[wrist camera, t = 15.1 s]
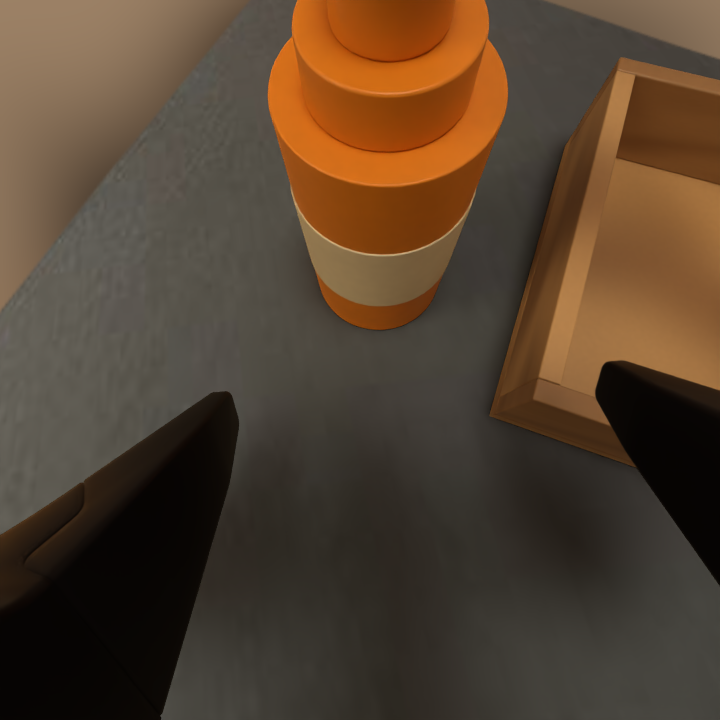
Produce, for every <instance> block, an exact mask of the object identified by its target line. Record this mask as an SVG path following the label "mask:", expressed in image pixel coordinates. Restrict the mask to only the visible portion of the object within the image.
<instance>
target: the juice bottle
mask: <svg viewBox="0 0 720 720" xmlns="http://www.w3.org/2000/svg"><path fill="white" fill-rule="evenodd" d="M488 32H489V16H488V9H487V6H486V3H485V0H298V1H297V3H296V6H295V9H294V13H293V18H292V35H293V36H292V37H291V38H290V39H289V41H288V42H287V43H286V44H285V46H284V47H283V48H282V50H281V52H280V53H279V55H278V57H277V59H276V61H275V63H274V66H273V68H272V71H271V75H270V79H269V84H268V104H269V111H270V114H271V118H272V121H273V125H274V128H275V132H276V135H277V139H278V142H279V146H280V149H281V153H282V156H283V160H284V163H285V167H286V170H287V174H288V177H289V180H290V186H291V193H292V196H293V200H294V203H295V207H296V210H297V214H298V217H299V220H300V224H301V227H302V231H303V234H304V237H305V241H306V244H307V248H308V251H309V254H310V258H311V261H312V264H313V266H314V268H315V271H316V274H317V278H318V281H319V285H320V288H321V292H322V294H323V296H324V299H325V300H326V302H327V304H328V305H329V306H330V308H331V309H332V310H333V311H334V312H335V313H336V314H337V315H338V316H339V317H341V318H342V319H344V320H345V321H347V322H349V323H351V324H353V325H355V326H358V327H361V328H366V329H373V330H385V329H392V328H396V327H399V326H402V325H404V324H407V323H409V322H410V321H412V320H414V319H415V318H417V317H418V316H419V315H421V314H422V313H423V312H424V311H425V309H426V308H427V307H428V306H429V304H430V303H431V301H432V299H433V298H434V296H435V293H436V290H437V288H438V285H439V283H440V280H441V278H442V275H443V273H444V271H445V269H446V268H447V266H448V263H449V261H450V258H451V255H452V253H453V250H454V248H455V245H456V243H457V240H458V238H459V235H460V233H461V230H462V228H463V225H464V223H465V220H466V218H467V215H468V212H469V210H470V207H471V205H472V202H473V199H474V197H475V192H476V188H477V185H478V182H479V180H480V177H481V175H482V172H483V170H484V167H485V164H486V162H487V159H488V157H489V154H490V152H491V149H492V146H493V144H494V141H495V139H496V136H497V134H498V131H499V128H500V126H501V123H502V121H503V118H504V115H505V112H506V107H507V101H508V84H507V78H506V72H505V69H504V66H503V63H502V61H501V59H500V57H499V55H498V53H497V51H496V49H495V48H494V47H493V45H492V44H491V42H490V41H489V40H488V39H487V37H488Z"/></svg>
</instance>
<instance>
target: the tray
mask: <svg viewBox="0 0 720 720" xmlns="http://www.w3.org/2000/svg"><path fill="white" fill-rule="evenodd" d="M618 360H625V361H628V362H632V363H635V364H638V365H641V366H644V367H647V368H651V369H654V370H657V371H660V372H663V373H666V374H670V375H673V376H676V377H679V378H682V379H685V380H689V381H692V382H695V383H698V384H701V385H704V386H708V387H711V388H714V389H717V390H720V80H716V79H712V78H707V77H703V76H699V75H694V74H690V73H686V72H682V71H677V70H673V69H669V68H665V67H660V66H656V65H652V64H648V63H643V62H639V61H635V60H631V59H626V58H620V59H619V60H618V62H617V63H616V65H615V67H614V68H613V70H612V71H611V73H610V75H609V76H608V78H607V80H606V81H605V83H604V84H603V86H602V88H601V89H600V91H599V92H598V94H597V96H596V97H595V99H594V100H593V102H592V104H591V105H590V107H589V109H588V110H587V112H586V113H585V115H584V117H583V118H582V120H581V121H580V123H579V125H578V126H577V128H576V130H575V131H574V133H573V135H572V136H571V137H570V139H569V141H568V142H567V144H566V145H565V148H564V152H563V155H562V159H561V163H560V166H559V170H558V173H557V177H556V180H555V184H554V187H553V191H552V195H551V198H550V202H549V205H548V209H547V212H546V216H545V219H544V223H543V227H542V230H541V234H540V237H539V241H538V244H537V248H536V251H535V255H534V258H533V262H532V266H531V269H530V273H529V276H528V280H527V283H526V287H525V290H524V294H523V298H522V301H521V305H520V308H519V312H518V315H517V319H516V322H515V326H514V330H513V333H512V337H511V340H510V344H509V347H508V351H507V354H506V358H505V362H504V365H503V369H502V372H501V376H500V379H499V383H498V386H497V390H496V393H495V397H494V401H493V404H492V408H491V411H490V416H491V417H494V418H496V419H499V420H502V421H505V422H508V423H511V424H514V425H516V426H519V427H522V428H525V429H528V430H531V431H533V432H536V433H539V434H542V435H545V436H548V437H551V438H553V439H556V440H559V441H562V442H565V443H568V444H571V445H573V446H576V447H579V448H582V449H585V450H588V451H590V452H593V453H596V454H599V455H602V456H605V457H608V458H610V459H613V460H616V461H619V462H622V463H625V464H628V465H630V466H633V467H636V466H635V465H634V463H633V462H632V461H631V459H630V458H629V456H628V455H627V453H626V452H625V450H624V448H623V447H622V445H621V443H620V441H619V440H618V438H617V436H616V434H615V432H614V431H613V429H612V427H611V425H610V423H609V422H608V420H607V418H606V416H605V414H604V413H603V411H602V409H601V407H600V406H599V404H598V402H597V400H596V397H595V389H596V385H597V382H598V378H599V375H600V371H601V368H602V366H603V364H604V363H606V362H608V361H618Z"/></svg>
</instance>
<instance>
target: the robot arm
mask: <svg viewBox="0 0 720 720" xmlns="http://www.w3.org/2000/svg"><path fill="white" fill-rule="evenodd" d="M595 397H596V400H597V402H598V404H599V406H600V407H601V409H602V411H603V413H604V414H605V416H606V418H607V420H608V422H609V423H610V425H611V427H612V429H613V431H614V432H615V434H616V436H617V438H618V440H619V441H620V443H621V445H622V447H623V448H624V450H625V452H626V453H627V455H628V456H629V458H630V459H631V461H632V462H633V463H634V465H635V466H636V468H637V469H638V471H639V472H640V473H641V475H642V476H643V478H644V479H645V480H646V482H647V483H648V485H649V486H650V488H651V489H652V490H653V492H654V493H655V495H656V496H657V497H658V499H659V500H660V502H661V503H662V505H663V506H664V507H665V509H666V510H667V512H668V513H669V514H670V516H671V517H672V519H673V520H674V522H675V523H676V524H677V526H678V527H679V529H680V530H681V532H682V533H683V534H684V536H685V537H686V539H687V540H688V541H689V543H690V544H691V546H692V547H693V549H694V550H695V551H696V553H697V554H698V556H699V557H700V558H701V560H702V561H703V563H704V564H705V566H706V567H707V568H708V570H709V571H710V573H711V574H712V575H713V577H714V578H715V580H716V581H717V583H718V584H719V585H720V390H717V389H714V388H711V387H708V386H704V385H701V384H698V383H695V382H692V381H689V380H685V379H682V378H679V377H676V376H673V375H670V374H666V373H663V372H660V371H657V370H654V369H651V368H647V367H644V366H641V365H638V364H635V363H632V362H628V361H625V360H618V361H608V362H606V363H604V364H603V366H602V368H601V371H600V375H599V378H598V382H597V385H596V389H595ZM238 430H239V419H238V415H237V412H236V408H235V405H234V401H233V398H232V395H231V394H230V393H229V392H228V391H224V392H213V393H211V394H209V395H208V396H206V397H205V398H203V399H202V400H200V401H199V402H198V403H196V404H195V405H193V406H192V407H190V408H189V409H187V410H186V411H184V412H183V413H181V414H180V415H179V416H177V417H176V418H174V419H173V420H171V421H170V422H168V423H167V424H165V425H164V426H163V427H161V428H160V429H158V430H157V431H155V432H154V433H152V434H151V435H149V436H148V437H147V438H145V439H144V440H142V441H141V442H139V443H138V444H136V445H135V446H133V447H132V448H131V449H129V450H128V451H126V452H125V453H123V454H122V455H120V456H119V457H117V458H116V459H115V460H113V461H112V462H110V463H109V464H107V465H106V466H104V467H103V468H101V469H100V470H99V471H97V472H96V473H94V474H93V475H91V476H90V477H88V478H87V479H85V481H84V483H83V482H82V483H79V484H78V485H77V486H75V487H74V488H72V489H71V490H69V491H68V492H66V493H65V494H64V495H62V496H61V497H59V498H58V499H56V500H55V501H53V502H52V503H50V504H49V505H47V506H46V507H44V508H43V509H41V510H40V511H38V512H37V513H35V514H33V515H32V516H30V517H29V518H27V519H25V520H24V521H22V522H21V523H19V524H17V525H16V526H14V527H13V528H11V529H9V530H8V531H6V532H5V533H3V534H2V535H0V720H161V717H160V715H161V714H162V713H163V709H164V706H165V702H166V699H167V695H168V692H169V689H170V685H171V682H172V678H173V675H174V672H175V668H176V665H177V661H178V658H179V655H180V651H181V648H182V644H183V641H184V638H185V634H186V631H187V627H188V624H189V620H190V617H191V614H192V610H193V607H194V603H195V600H196V597H197V593H198V590H199V586H200V583H201V580H202V576H203V573H204V569H205V566H206V563H207V559H208V556H209V552H210V549H211V546H212V542H213V539H214V535H215V532H216V528H217V525H218V522H219V518H220V515H221V511H222V508H223V505H224V501H225V498H226V494H227V491H228V487H229V483H230V478H231V473H232V467H233V461H234V455H235V449H236V442H237V436H238Z"/></svg>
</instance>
